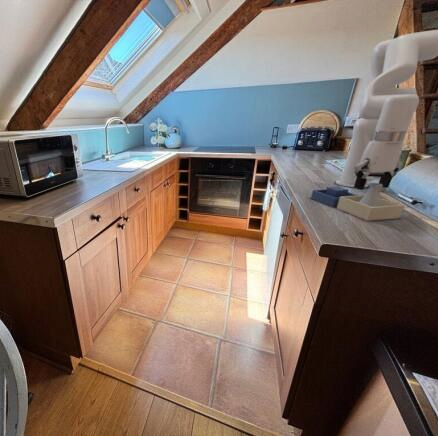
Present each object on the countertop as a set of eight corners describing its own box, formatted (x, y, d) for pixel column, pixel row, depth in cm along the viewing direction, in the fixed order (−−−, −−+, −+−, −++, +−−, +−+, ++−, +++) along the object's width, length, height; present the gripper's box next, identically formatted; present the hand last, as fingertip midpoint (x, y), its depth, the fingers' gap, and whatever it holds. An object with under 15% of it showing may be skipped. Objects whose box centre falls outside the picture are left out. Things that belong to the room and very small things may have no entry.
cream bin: (365, 206, 93) (369, 194, 91) (399, 218, 82) (404, 205, 80) (336, 208, 92) (340, 196, 90) (367, 220, 81) (372, 207, 79)
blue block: (334, 198, 101) (337, 186, 99) (344, 201, 96) (348, 189, 94) (323, 198, 100) (326, 187, 98) (333, 202, 96) (337, 190, 94)
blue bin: (334, 196, 104) (336, 188, 103) (358, 205, 94) (361, 196, 93) (310, 198, 103) (312, 190, 102) (332, 207, 93) (335, 198, 92)
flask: (370, 207, 90) (379, 181, 86) (385, 215, 83) (396, 186, 79) (349, 207, 90) (357, 181, 87) (363, 214, 84) (372, 186, 80)
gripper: (399, 134, 83) (381, 183, 90) (354, 137, 81) (339, 186, 88) (425, 136, 76) (403, 189, 83) (376, 139, 75) (358, 192, 81)
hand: (370, 187), depth 86 cm, fingers open, 9 cm apart
